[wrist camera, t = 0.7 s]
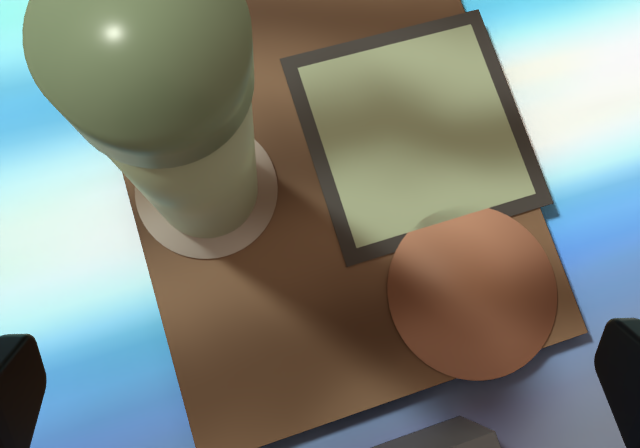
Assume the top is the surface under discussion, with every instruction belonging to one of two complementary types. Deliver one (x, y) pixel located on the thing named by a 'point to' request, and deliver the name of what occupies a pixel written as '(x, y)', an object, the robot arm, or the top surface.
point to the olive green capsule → (157, 97)
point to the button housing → (448, 436)
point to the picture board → (362, 228)
